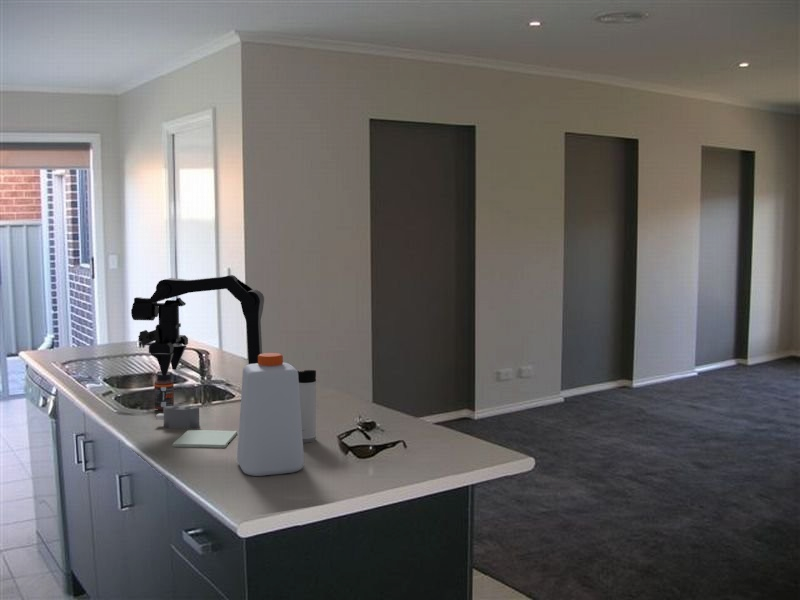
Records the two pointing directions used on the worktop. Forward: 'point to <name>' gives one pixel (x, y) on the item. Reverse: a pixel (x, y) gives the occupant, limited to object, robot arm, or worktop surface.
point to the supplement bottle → (163, 391)
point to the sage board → (205, 438)
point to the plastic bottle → (270, 418)
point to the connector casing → (180, 416)
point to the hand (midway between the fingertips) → (169, 372)
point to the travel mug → (308, 404)
